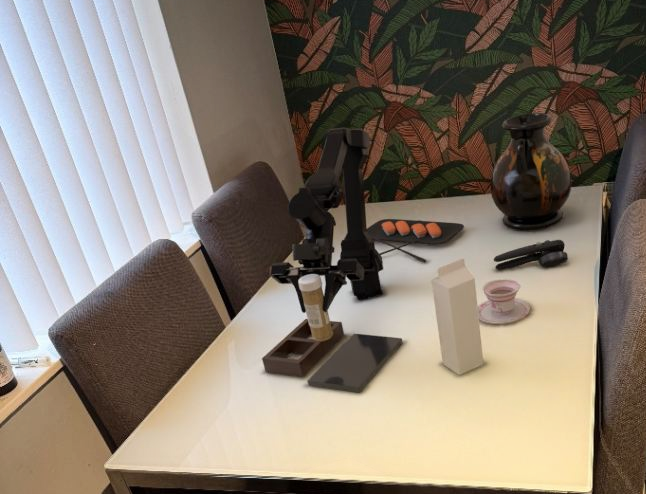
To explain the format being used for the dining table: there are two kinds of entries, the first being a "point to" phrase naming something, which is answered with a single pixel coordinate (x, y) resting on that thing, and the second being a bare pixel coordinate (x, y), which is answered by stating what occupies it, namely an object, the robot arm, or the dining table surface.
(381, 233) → the sushi plate
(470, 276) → the milk
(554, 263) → the can opener
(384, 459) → the dining table surface
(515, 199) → the dark ceramic vase
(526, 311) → the teacup
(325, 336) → the sprinkles bottle
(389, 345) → the slate board
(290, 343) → the spice rack
